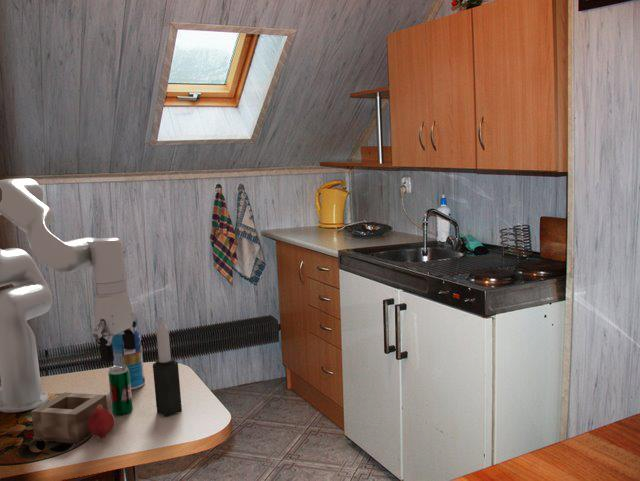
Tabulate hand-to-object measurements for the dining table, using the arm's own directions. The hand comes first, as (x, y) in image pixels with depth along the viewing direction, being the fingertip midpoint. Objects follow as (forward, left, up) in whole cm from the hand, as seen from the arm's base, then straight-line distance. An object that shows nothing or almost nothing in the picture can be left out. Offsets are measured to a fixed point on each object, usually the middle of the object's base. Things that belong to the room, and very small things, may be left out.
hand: (119, 354), depth 166 cm
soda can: (-1, 0, -16) cm, 15 cm away
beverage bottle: (-10, +18, -16) cm, 26 cm away
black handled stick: (+11, +2, -16) cm, 19 cm away
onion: (+3, -14, -16) cm, 21 cm away
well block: (-7, -12, -15) cm, 21 cm away
